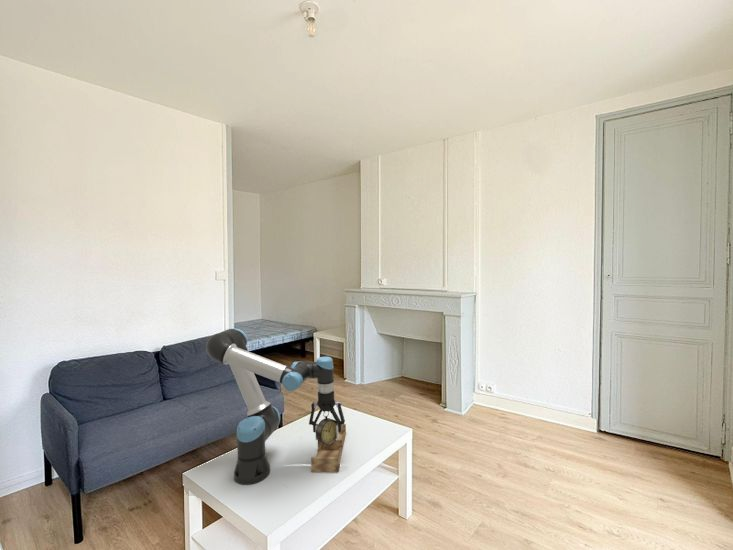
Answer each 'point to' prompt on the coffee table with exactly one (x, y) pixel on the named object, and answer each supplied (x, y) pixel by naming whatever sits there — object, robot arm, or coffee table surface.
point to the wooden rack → (329, 455)
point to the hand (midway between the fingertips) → (327, 438)
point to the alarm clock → (326, 431)
